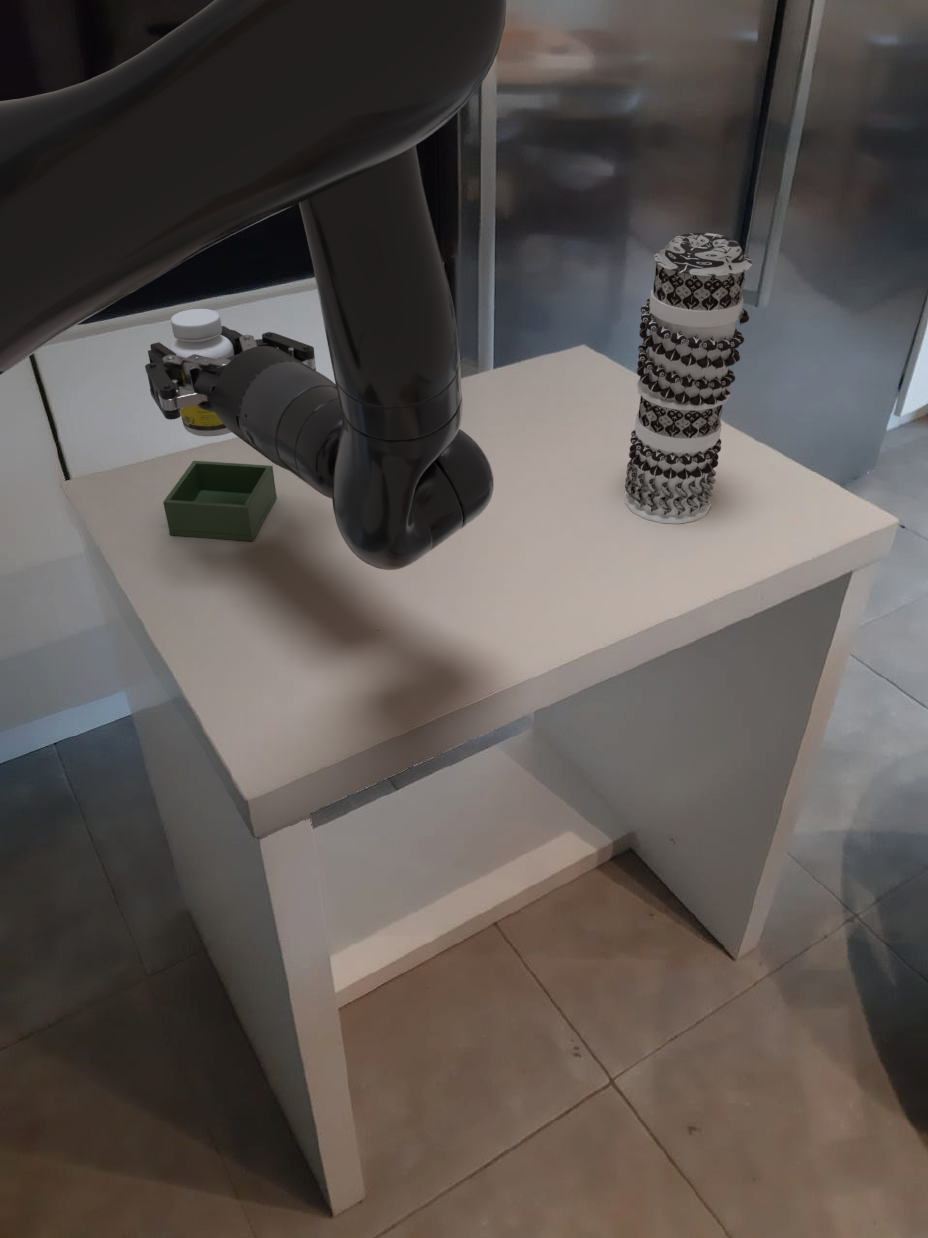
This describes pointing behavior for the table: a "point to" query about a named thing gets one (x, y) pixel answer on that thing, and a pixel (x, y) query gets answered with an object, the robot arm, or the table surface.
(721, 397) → the decorative candle
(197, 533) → the basket
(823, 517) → the table surface
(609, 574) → the table surface
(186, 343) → the supplement bottle
